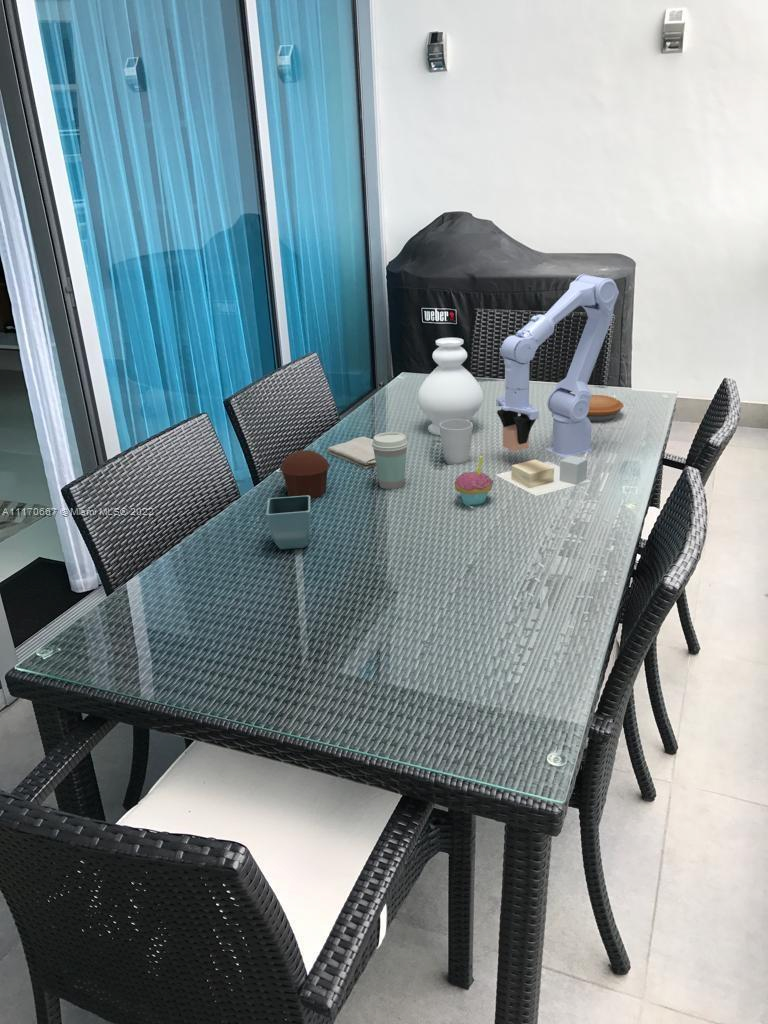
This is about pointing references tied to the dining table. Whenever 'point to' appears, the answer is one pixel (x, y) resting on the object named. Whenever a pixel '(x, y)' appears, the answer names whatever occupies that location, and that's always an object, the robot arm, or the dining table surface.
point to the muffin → (305, 473)
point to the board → (546, 487)
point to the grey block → (573, 469)
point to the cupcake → (474, 486)
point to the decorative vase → (449, 387)
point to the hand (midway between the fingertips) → (516, 440)
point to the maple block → (532, 473)
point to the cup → (456, 440)
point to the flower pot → (289, 521)
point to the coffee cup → (390, 458)
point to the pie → (603, 408)
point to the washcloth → (355, 452)
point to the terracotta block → (512, 439)
